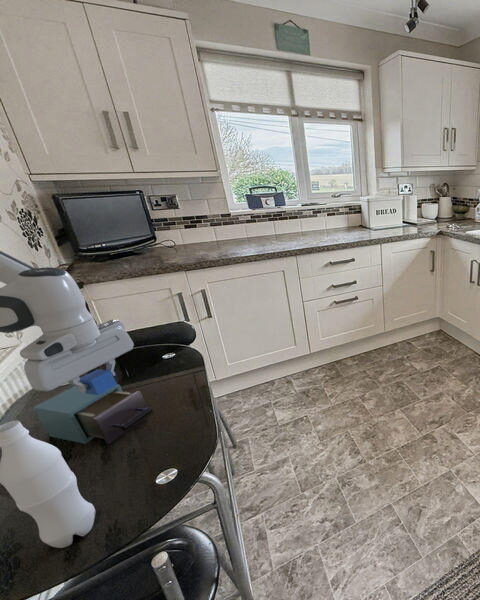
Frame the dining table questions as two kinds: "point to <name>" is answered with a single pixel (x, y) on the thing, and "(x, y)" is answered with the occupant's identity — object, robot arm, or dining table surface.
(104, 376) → the blue cube
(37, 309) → the robot arm
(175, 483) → the dining table surface
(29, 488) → the water bottle
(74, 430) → the drawer cabinet
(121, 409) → the purple drawer
